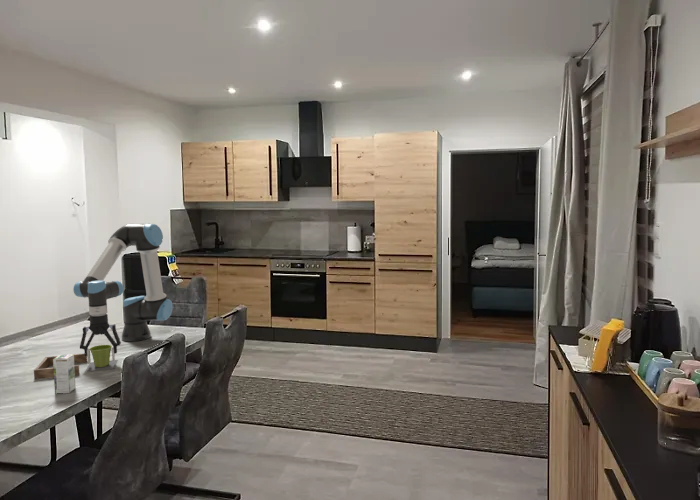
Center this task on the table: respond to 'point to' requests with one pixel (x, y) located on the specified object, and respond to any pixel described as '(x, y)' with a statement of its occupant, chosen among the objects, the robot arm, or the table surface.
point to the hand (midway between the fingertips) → (101, 361)
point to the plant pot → (101, 355)
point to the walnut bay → (45, 372)
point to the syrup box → (64, 373)
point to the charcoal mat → (93, 368)
